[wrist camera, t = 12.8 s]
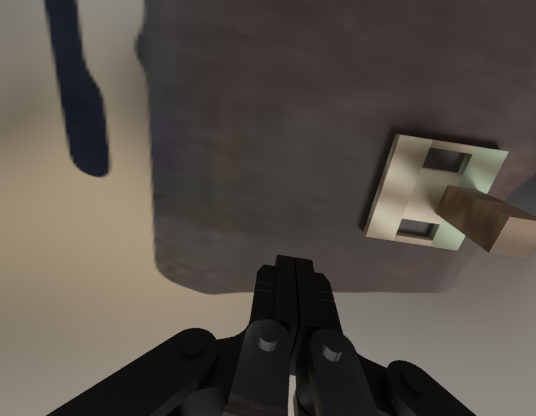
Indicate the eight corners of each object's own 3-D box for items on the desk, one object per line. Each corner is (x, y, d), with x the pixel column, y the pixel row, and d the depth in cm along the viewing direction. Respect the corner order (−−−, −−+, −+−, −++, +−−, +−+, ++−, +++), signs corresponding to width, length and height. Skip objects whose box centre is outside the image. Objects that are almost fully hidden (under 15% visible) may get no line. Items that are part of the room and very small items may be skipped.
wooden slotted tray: (395, 133, 36) (400, 134, 34) (499, 149, 36) (508, 151, 34) (363, 231, 42) (365, 236, 41) (451, 245, 42) (457, 250, 41)
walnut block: (447, 185, 37) (509, 216, 26) (477, 190, 37) (551, 223, 26) (434, 213, 38) (489, 252, 28) (463, 217, 38) (528, 258, 28)
